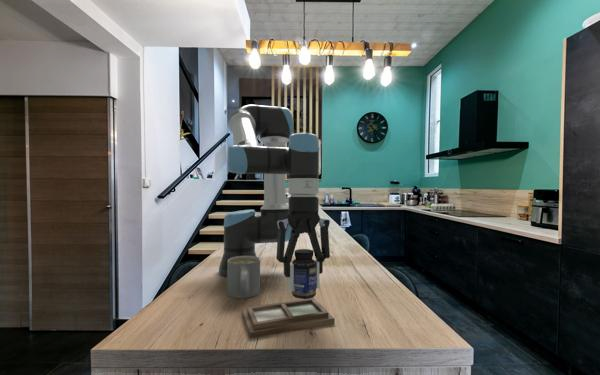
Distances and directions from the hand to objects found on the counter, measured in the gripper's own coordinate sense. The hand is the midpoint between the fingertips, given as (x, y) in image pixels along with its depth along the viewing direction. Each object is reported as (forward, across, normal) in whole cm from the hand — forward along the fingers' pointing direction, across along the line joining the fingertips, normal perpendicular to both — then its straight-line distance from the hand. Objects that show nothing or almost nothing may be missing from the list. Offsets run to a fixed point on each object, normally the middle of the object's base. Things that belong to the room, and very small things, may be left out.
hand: (303, 287), depth 71 cm
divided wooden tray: (+7, -4, 0) cm, 8 cm away
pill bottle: (+2, 0, 0) cm, 2 cm away
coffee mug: (+7, -12, +20) cm, 25 cm away
